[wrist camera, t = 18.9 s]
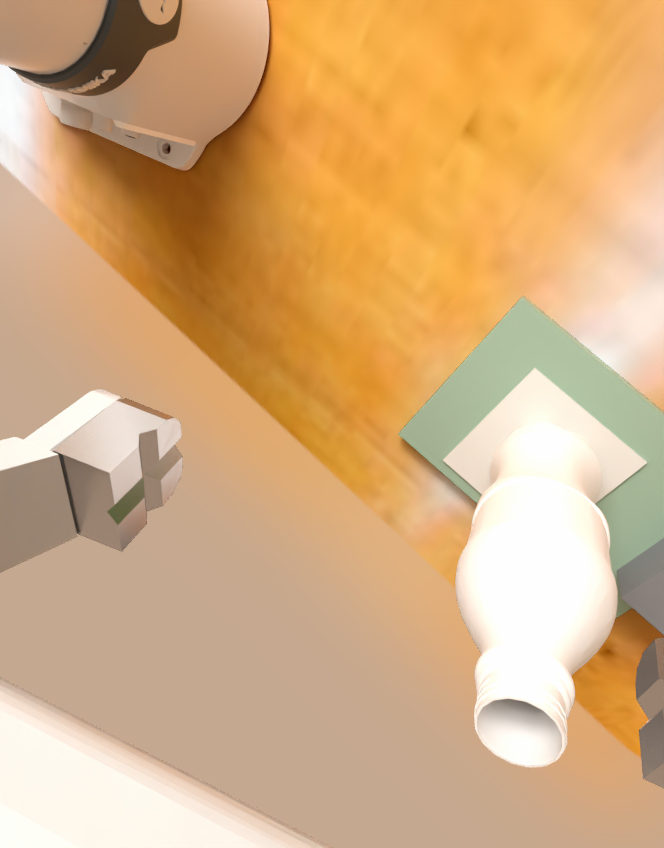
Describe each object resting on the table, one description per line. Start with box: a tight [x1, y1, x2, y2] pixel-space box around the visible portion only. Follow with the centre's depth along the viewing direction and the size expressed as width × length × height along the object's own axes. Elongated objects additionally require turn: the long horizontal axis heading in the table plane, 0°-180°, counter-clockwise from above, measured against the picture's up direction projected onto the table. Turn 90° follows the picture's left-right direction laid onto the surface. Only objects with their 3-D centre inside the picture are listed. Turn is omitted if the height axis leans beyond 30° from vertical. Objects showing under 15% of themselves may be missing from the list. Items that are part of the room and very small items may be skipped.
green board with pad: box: [399, 296, 664, 635], centre depth 39 cm, size 27×14×5 cm, turn 53°
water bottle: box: [455, 423, 618, 767], centre depth 29 cm, size 7×7×25 cm
